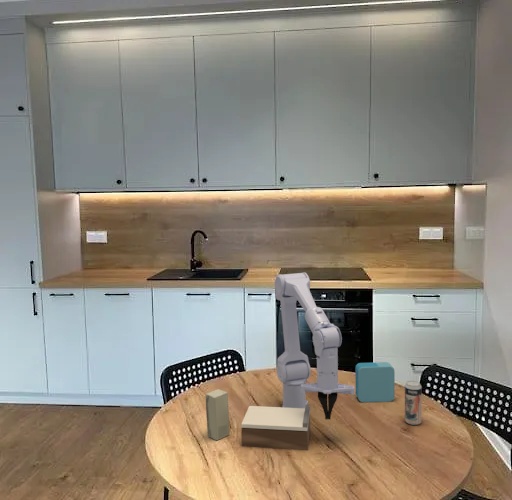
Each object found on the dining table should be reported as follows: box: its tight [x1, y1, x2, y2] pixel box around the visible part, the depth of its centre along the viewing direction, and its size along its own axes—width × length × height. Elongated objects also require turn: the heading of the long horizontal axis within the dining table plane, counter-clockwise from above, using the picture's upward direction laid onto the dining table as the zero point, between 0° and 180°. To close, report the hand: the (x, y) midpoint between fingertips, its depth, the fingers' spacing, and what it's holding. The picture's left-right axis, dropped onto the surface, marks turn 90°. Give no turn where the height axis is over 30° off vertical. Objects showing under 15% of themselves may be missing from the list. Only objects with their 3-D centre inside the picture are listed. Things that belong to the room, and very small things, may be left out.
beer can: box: [404, 380, 423, 426], centre depth 143 cm, size 5×5×12 cm
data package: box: [354, 361, 396, 403], centre depth 161 cm, size 12×4×12 cm, turn 90°
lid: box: [240, 404, 311, 431], centre depth 136 cm, size 12×18×2 cm, turn 80°
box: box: [205, 388, 231, 441], centre depth 138 cm, size 5×4×13 cm
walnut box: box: [241, 415, 311, 451], centre depth 136 cm, size 12×18×5 cm, turn 80°
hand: (327, 417), depth 134 cm, fingers closed
